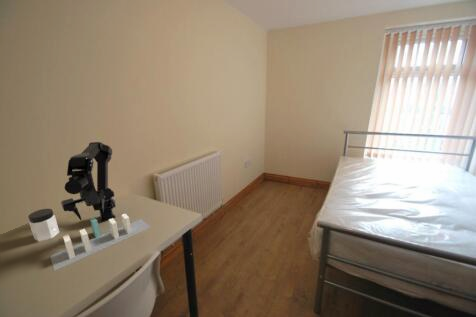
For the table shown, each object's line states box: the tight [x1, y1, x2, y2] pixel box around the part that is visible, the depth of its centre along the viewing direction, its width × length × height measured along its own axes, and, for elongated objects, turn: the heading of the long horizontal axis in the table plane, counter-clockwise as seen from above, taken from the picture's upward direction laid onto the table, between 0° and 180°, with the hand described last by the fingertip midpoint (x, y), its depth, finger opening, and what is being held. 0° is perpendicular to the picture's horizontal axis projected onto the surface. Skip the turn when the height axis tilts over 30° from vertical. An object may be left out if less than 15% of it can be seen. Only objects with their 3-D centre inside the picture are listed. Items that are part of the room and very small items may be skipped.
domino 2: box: [79, 228, 91, 252], centre depth 88 cm, size 2×5×8 cm, turn 47°
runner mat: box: [49, 218, 152, 271], centre depth 94 cm, size 11×37×1 cm, turn 137°
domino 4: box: [108, 218, 119, 239], centre depth 96 cm, size 2×5×8 cm, turn 47°
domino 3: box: [89, 216, 102, 238], centre depth 97 cm, size 2×5×8 cm, turn 47°
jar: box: [27, 208, 60, 243], centre depth 96 cm, size 9×8×12 cm
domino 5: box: [121, 213, 132, 234], centre depth 100 cm, size 2×5×8 cm, turn 47°
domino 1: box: [62, 234, 75, 259], centre depth 84 cm, size 2×5×8 cm, turn 47°
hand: (92, 215), depth 95 cm, fingers open, 9 cm apart
